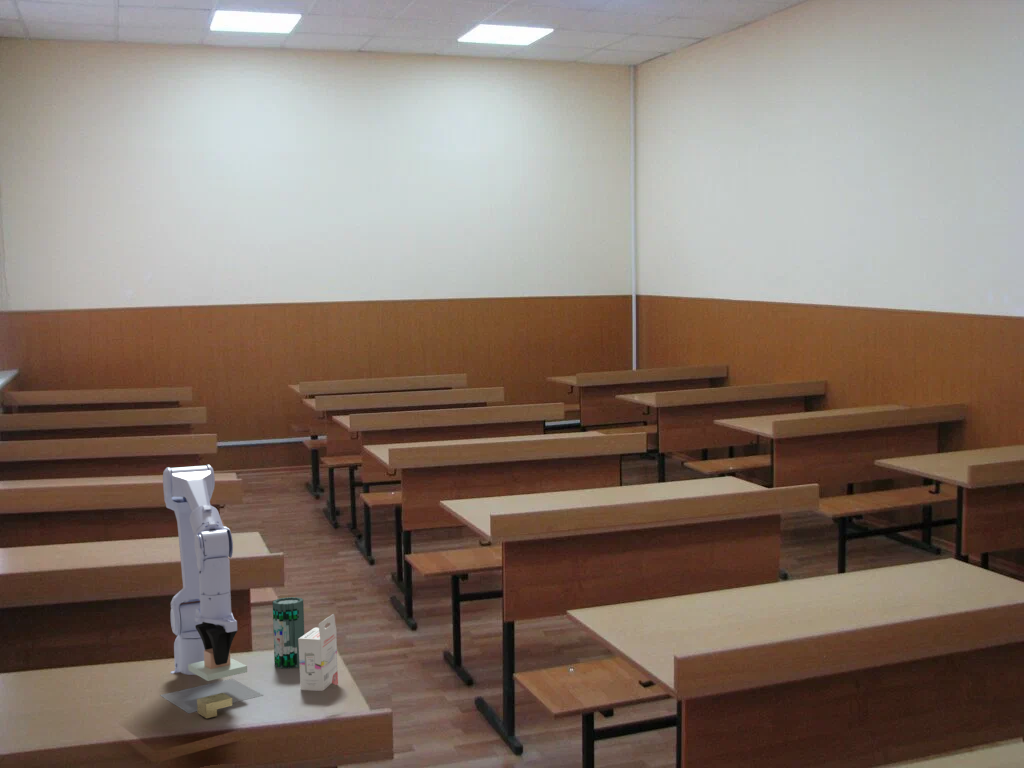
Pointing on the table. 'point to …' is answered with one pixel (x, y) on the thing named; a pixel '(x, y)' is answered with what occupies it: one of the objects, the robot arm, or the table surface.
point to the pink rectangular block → (216, 667)
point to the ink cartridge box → (318, 657)
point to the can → (287, 631)
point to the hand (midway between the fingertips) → (217, 661)
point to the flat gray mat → (229, 687)
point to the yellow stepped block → (212, 704)
